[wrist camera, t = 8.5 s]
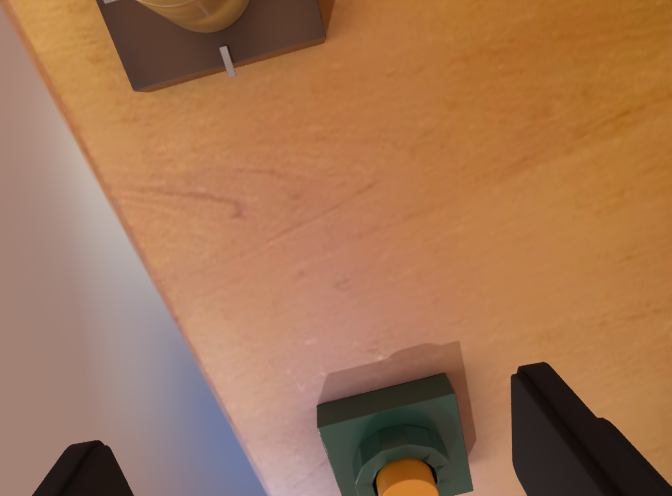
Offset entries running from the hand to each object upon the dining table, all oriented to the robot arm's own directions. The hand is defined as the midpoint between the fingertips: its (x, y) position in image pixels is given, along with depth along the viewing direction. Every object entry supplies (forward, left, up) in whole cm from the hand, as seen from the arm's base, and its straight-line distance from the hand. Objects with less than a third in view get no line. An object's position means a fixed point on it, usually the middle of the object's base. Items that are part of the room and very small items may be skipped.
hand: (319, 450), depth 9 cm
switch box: (+1, -18, -17) cm, 25 cm away
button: (+1, -18, -13) cm, 23 cm away
